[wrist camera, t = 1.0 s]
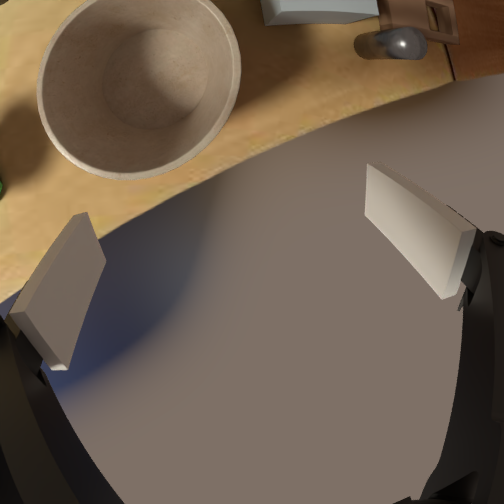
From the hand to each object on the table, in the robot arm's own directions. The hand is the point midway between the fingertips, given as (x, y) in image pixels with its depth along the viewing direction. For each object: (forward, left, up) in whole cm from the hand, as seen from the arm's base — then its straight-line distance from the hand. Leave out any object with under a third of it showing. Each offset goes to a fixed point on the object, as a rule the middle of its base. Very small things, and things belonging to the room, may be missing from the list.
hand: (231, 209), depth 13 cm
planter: (-8, -5, -24) cm, 25 cm away
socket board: (-17, +29, -23) cm, 40 cm away
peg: (-9, +20, -23) cm, 32 cm away
